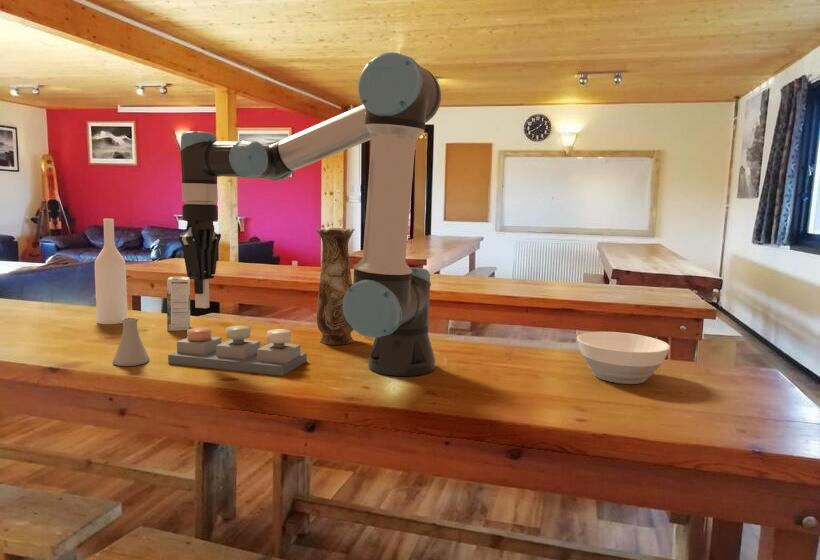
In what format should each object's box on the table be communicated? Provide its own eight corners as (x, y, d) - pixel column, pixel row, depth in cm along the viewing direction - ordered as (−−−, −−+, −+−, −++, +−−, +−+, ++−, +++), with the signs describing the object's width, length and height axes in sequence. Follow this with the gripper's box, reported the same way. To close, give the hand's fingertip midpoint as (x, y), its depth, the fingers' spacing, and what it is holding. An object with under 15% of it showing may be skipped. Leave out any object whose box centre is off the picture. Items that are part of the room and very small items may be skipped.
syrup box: (168, 327, 168) (167, 276, 166) (191, 326, 170) (190, 276, 168) (167, 331, 163) (165, 279, 161) (190, 330, 165) (188, 279, 163)
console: (306, 361, 137) (306, 342, 136) (283, 375, 125) (283, 355, 125) (199, 350, 144) (199, 332, 143) (168, 363, 132) (167, 343, 131)
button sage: (254, 344, 136) (254, 326, 135) (243, 349, 131) (242, 331, 130) (234, 342, 137) (234, 324, 137) (222, 347, 132) (221, 329, 132)
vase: (339, 348, 150) (340, 229, 146) (307, 341, 156) (307, 227, 152) (363, 340, 159) (365, 228, 155) (332, 334, 165) (333, 226, 161)
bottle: (123, 318, 178) (120, 218, 174) (131, 322, 172) (127, 219, 168) (93, 320, 173) (89, 218, 169) (100, 325, 167) (96, 219, 163)
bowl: (672, 374, 135) (675, 339, 134) (659, 397, 119) (663, 357, 118) (586, 360, 145) (588, 327, 144) (564, 380, 129) (566, 343, 127)
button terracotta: (215, 346, 138) (215, 328, 138) (203, 351, 133) (202, 333, 133) (196, 344, 140) (196, 326, 139) (182, 349, 135) (182, 331, 134)
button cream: (294, 348, 134) (294, 330, 133) (284, 354, 128) (284, 335, 128) (273, 346, 135) (273, 328, 134) (262, 351, 130) (262, 333, 129)
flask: (135, 368, 128) (133, 323, 126) (105, 365, 129) (103, 320, 128) (155, 359, 135) (154, 316, 133) (127, 357, 136) (126, 314, 135)
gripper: (202, 203, 139) (204, 301, 142) (166, 202, 127) (170, 311, 130) (230, 203, 137) (232, 303, 140) (197, 203, 125) (200, 313, 128)
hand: (202, 307), depth 135 cm, fingers closed
